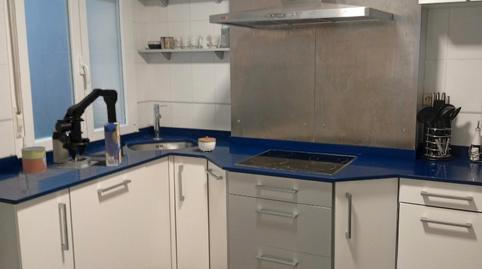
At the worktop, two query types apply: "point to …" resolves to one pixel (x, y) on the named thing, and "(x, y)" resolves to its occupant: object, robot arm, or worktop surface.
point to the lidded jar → (206, 143)
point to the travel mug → (59, 147)
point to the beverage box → (112, 144)
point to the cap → (78, 158)
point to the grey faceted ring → (77, 163)
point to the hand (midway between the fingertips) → (77, 158)
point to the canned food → (34, 160)
